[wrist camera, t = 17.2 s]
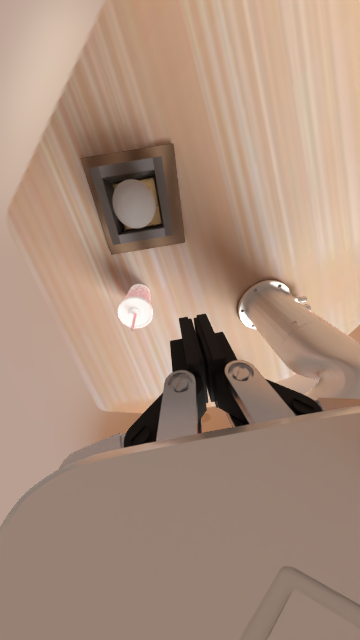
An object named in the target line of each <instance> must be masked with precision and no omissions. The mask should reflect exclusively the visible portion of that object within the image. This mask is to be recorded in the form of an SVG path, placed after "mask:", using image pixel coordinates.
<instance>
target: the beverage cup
mask: <svg viewBox="0 0 360 640" xmlns="http://www.w3.org/2000/svg"><path fill="white" fill-rule="evenodd" d="M118 317H119V319H120V320H121V322H122V323H123V324H125V325H126V326H128V327H131V331H133V330H134V328H142V327H144V326H147V325H148V324H149V323H150V322H151V320H152V317H153V309H152V306H151V296H150V290H149V289H148V287H146V286H145V285H143V284H136V285H133V286H132V287H131V288H130V290H129V292H128V293H127V295H126V297H125V299H124V300H123V301H122V302H121V303H120V305H119V308H118Z"/></svg>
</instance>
